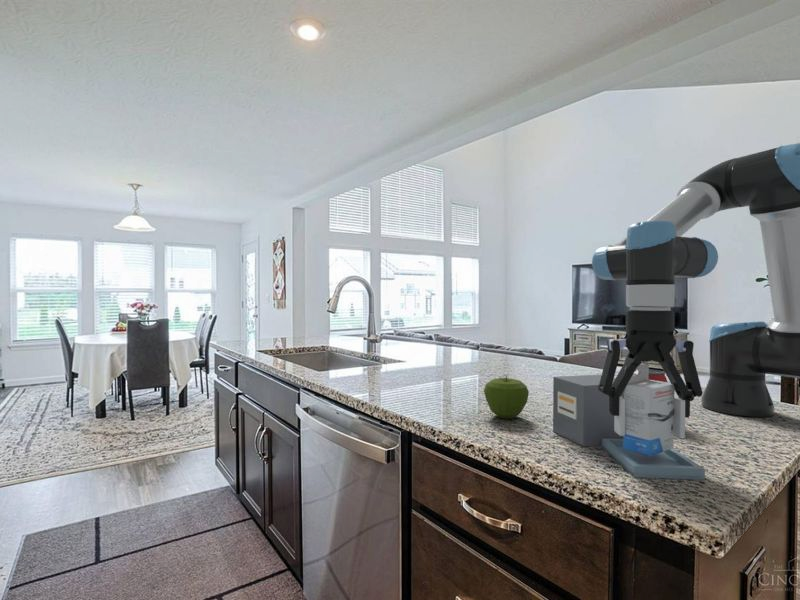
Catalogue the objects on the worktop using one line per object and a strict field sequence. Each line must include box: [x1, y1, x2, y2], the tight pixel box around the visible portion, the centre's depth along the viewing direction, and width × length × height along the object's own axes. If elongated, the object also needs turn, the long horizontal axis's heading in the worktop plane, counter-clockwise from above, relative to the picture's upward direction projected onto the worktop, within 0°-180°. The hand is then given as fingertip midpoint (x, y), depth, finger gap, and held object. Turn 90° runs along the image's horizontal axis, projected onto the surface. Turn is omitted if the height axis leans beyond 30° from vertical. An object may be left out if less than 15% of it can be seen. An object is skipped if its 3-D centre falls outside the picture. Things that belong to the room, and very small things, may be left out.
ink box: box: [623, 363, 676, 456], centre depth 77 cm, size 8×5×15 cm, turn 124°
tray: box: [601, 438, 706, 481], centre depth 77 cm, size 11×14×2 cm
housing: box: [552, 374, 624, 447], centre depth 92 cm, size 13×10×12 cm
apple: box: [483, 376, 530, 420], centre depth 106 cm, size 11×10×10 cm
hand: (648, 434), depth 77 cm, fingers closed on ink box, 9 cm apart
